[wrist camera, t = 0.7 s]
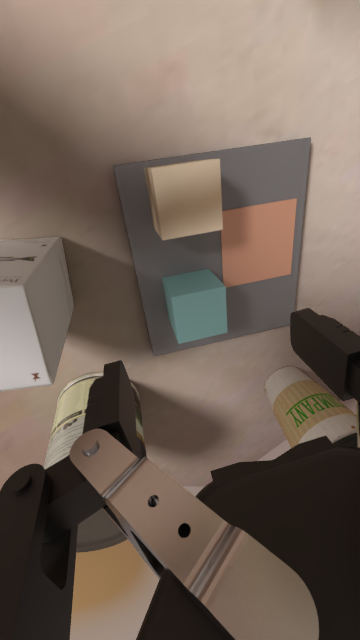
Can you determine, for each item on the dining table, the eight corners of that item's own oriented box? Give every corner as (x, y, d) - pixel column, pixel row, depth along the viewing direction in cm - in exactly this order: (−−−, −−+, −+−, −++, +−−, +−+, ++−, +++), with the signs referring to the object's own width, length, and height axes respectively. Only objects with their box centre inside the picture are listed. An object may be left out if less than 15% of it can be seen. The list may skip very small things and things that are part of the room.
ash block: (144, 168, 24) (151, 168, 19) (200, 159, 24) (219, 158, 20) (153, 228, 26) (162, 240, 22) (204, 219, 27) (223, 229, 23)
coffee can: (154, 385, 37) (175, 492, 25) (118, 437, 40) (121, 555, 28) (77, 359, 32) (58, 474, 20) (43, 420, 36) (10, 551, 24)
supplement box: (62, 234, 26) (29, 284, 15) (75, 306, 29) (55, 389, 19) (-28, 236, 24) (-137, 293, 14) (-3, 312, 28) (-74, 405, 17)
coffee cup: (325, 362, 42) (420, 449, 29) (291, 410, 46) (363, 506, 33) (273, 350, 38) (355, 443, 25) (241, 403, 42) (299, 507, 29)
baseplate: (113, 165, 24) (113, 165, 23) (304, 138, 26) (312, 137, 25) (152, 351, 34) (154, 357, 33) (288, 320, 36) (293, 324, 35)
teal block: (162, 277, 29) (171, 297, 24) (208, 268, 29) (225, 286, 25) (169, 319, 31) (178, 343, 27) (211, 310, 32) (227, 332, 28)
